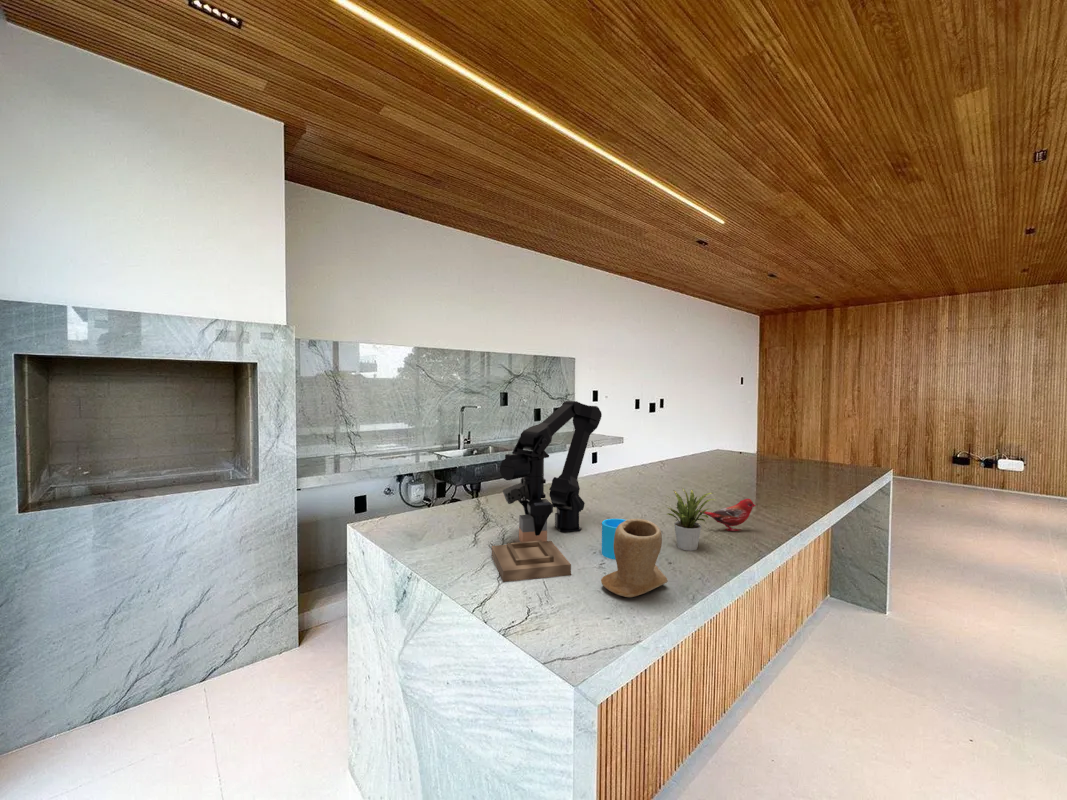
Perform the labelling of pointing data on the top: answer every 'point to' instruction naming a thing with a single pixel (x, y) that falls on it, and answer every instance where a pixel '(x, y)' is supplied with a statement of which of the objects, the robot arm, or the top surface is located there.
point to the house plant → (688, 521)
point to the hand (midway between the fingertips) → (533, 529)
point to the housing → (530, 530)
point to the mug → (609, 536)
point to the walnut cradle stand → (529, 560)
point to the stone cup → (635, 559)
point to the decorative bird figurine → (733, 514)
